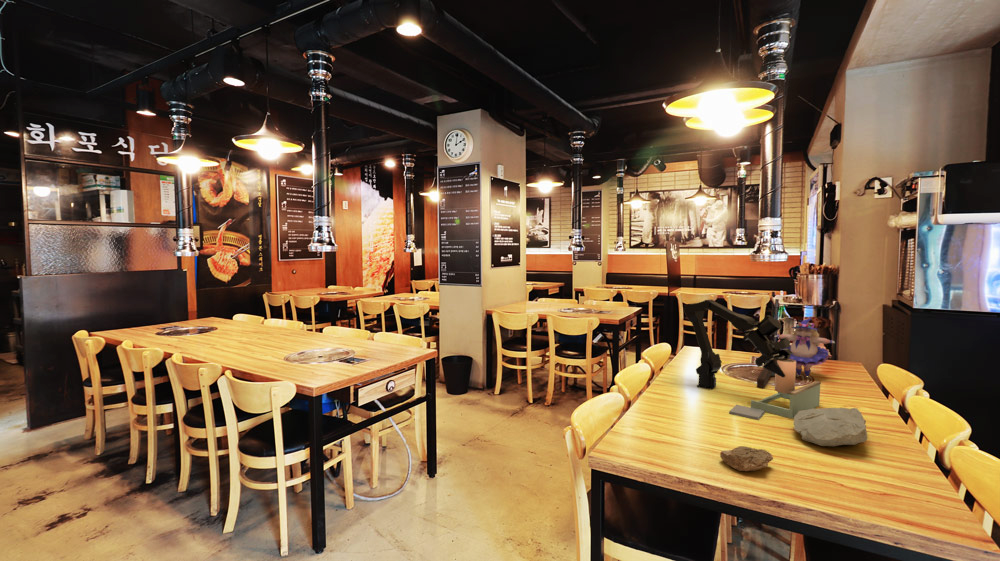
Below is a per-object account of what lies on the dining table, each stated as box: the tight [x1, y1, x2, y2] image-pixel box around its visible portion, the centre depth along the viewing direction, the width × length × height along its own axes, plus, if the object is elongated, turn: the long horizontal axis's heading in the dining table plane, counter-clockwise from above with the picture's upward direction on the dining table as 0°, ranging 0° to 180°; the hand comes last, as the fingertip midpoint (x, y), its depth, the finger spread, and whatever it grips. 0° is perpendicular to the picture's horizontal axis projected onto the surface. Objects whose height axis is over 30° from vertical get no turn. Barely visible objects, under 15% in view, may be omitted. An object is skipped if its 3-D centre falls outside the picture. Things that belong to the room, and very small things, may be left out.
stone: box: [793, 407, 869, 447], centre depth 155 cm, size 33×9×20 cm
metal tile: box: [728, 404, 766, 421], centre depth 176 cm, size 10×10×1 cm
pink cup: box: [774, 358, 797, 394], centre depth 182 cm, size 7×7×12 cm
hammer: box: [756, 367, 775, 389], centre depth 220 cm, size 5×11×30 cm
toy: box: [774, 317, 836, 377], centre depth 227 cm, size 25×21×30 cm
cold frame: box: [750, 380, 822, 420], centre depth 184 cm, size 15×25×10 cm, turn 126°
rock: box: [719, 445, 774, 472], centre depth 132 cm, size 13×11×5 cm
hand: (788, 375), depth 180 cm, fingers closed on pink cup, 7 cm apart
